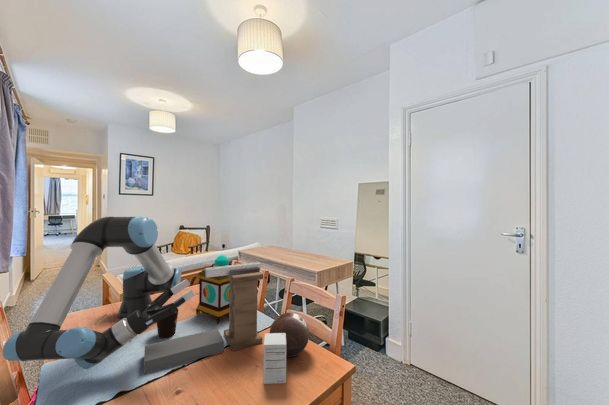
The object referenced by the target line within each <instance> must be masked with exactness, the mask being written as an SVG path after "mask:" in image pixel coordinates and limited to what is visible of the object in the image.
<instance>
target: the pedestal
mask: <svg viewBox="0 0 609 405" xmlns="http://www.w3.org/2000/svg"><path fill="white" fill-rule="evenodd" d="M226 276H227V277H228V278H229V279H230V295H229V314H228V316H229V318H228V328H226V329H223V336H224V338H225V340H226V341H227V344H228V345H229V347H230V349H231V351H232V352H234V351H239V350H242V349H245V348H250V347H252V346H256V345H260V344H262V343H263V337H262V335H261V334H260V333H259V332H258V282H259V281H261V280H263V279H264V273H262V272H261V271H260V268H251V269H243V270H235V271H230V275H226ZM258 280H259V281H258Z"/></svg>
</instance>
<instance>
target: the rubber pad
mask: <svg viewBox="0 0 609 405" xmlns="http://www.w3.org/2000/svg"><path fill="white" fill-rule="evenodd" d="M223 352H225V340H224V338H223V336H222V334H221V332H220V331H219V329H218V328H215V329H210V330H206V331H201V332H198V333H193V334H188V335H183V336H180V337H176V338H171V339H168V340H162V341H160V342H154V343H150V344H145V345H144V352H143V354H144V357H143V358H144V359H143V374H144V373H145V374H147V373H148V374H149V373H151V371H152V372H156V371H159V370H162V369H166V368H169V366H170V367H173V366H176V364H177V365H181V364H183V363H188V362H190V361H194V359H195V360H198V359H202V358H206V357H209V356H212V355H213V356H214V355H216V354H219V353H223ZM180 363H181V364H180ZM155 370H156V371H155Z"/></svg>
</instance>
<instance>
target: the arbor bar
mask: <svg viewBox="0 0 609 405" xmlns="http://www.w3.org/2000/svg"><path fill="white" fill-rule="evenodd" d="M251 268H260V272H261V270H262V263H261V262H259V261H257V262H256V261H255V262H248V263H239V264H232V265H228V266H219V267H211V268H209V267H206V268H205V267H204V270H205V276H206V278H208V277H216V276H223V275H230V271H235V270H243V269H251Z"/></svg>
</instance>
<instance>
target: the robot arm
mask: <svg viewBox="0 0 609 405" xmlns="http://www.w3.org/2000/svg"><path fill="white" fill-rule="evenodd" d="M157 225H158V224H156V222H155V220H153V219H152V218H150V217H147V216H105V217H100V218H98V219H96V220H94V221H92V222H91V223H89V224H88V225H87V226H85V227H84V228H83V229H82V230H81V231H79V233H78V234H77V235H76V237H75V238H74V239H73V241H72V242H71V244H70V249H71V251H70V253H69V254H68V256H67V257H66V260H65V261H64V263H63V265H62V267H61V268H60V270H59V272H58V273H57V275H56V277H55V279H54V281H53V282H52V283H51V285H50V287H49V289H48V291H47V292H46V294H45V296H44V298H43V299H42V300H41V303H40V305H39V306H38V308H37V309H36V311H35V313H34V315H33V316H32V317H31V320H30V322H29V323H28V325H27V327H26V328H25V330H22V331H17V332H15V333H13V334H12V335H11V336H10V337H8V338H7V340H6V341H5V342H4V345H3V347H2V350H1V352H2V356H3V358H4V359H5V360H7V361H9V362H10V361H12V362H23V363H24V362H30V361H44V360H46V361H47V360H48V361H49V360H69V359H70V360H71V359H74V360H75V363H76V364H77V365H78V367H80V368H82V369H83V370H90V369H91V368H93V367H95V366H97V365H98V364H100V363H102V362H103V360H105V359H107V358H108V357H109V356H111V355H112V354H113V353H115V352H116V351H118V350H119V349H120V348H122V347H123V346H125V345H126V344H128V343H131V342H132V341H133V339H135V338H136V337H137V335H141V334H142V333H143V332H145V331H147V330H148V329H149V328H150V326H152V325H154V324H155V323H156V324H157V322H158V321H160V320H162V319H164V318H166V317H168V316H170V315H172V314H174V313H175V312H177V311H178V312H179V308H180V306H183V305H184V304H185V303H186V302H188V301H190V300H191V299H192V298H194V297H195V296H196V294H195V292H194V291H193V289H192V288H190V289H189V290H187V291H186V292H184V293H182V294H181V295H180V296H178V297H177V298H175V299H174V300H173V301H172V302H170V303H168V301H169V300H170V299H171V298H172V297H173V296H175V295H177V294H178V293H180V292H182V291H183V290H184V289H186V288H188V287H189V286H191V283H190V281H189V280H188V279H187V278H185V279H184V280H182V269H181V268H179V267H174V266H173V265H172V264H171V263H169V262H167V261H166V259H165V258H164V257H163V255H162V253H161V251H160V250H159V248H158V246H157V244H156V242H157V240H158V237H159V230H158V226H157ZM107 248H123V250H124V251H125V253H127V254H128V255H132V256H134V257H135V258H136V260H138V262H139V263H140V265H138V266H137V265H136V266H133V267H130V268H127V269H125V270H124V271H123V275H122V279H121V280H122V299H121V300H122V301H121V303H120V306H119V309H118V311H117V317H118V318H119V319H120V320H119V321H118V322H116V323H114V324H113V325H111V326H110V327H108V328H107V329H106V330H104V331H102V332H100V331H96V330H93V329H91V328H89V327H81V326H75V327H71V328H69V329H61V328H62V326H63V324H64V321H65V320H66V318H67V316H68V314H69V312H70V310H71V308H72V306H73V304H74V302H75V300H76V298H77V297H78V294H79V293H80V290H81V288H82V287H83V284H84V282H85V281H86V278H87V277H88V275H89V272H90V271H91V268H92V267H93V265H94V263H95V261H96V258H97V257H99V256H101V255H103V252H104V250H105V249H107ZM151 293H160V295H158V296H157V297H156V298H154V300H152V297H151ZM166 303H168V304H166Z"/></svg>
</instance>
